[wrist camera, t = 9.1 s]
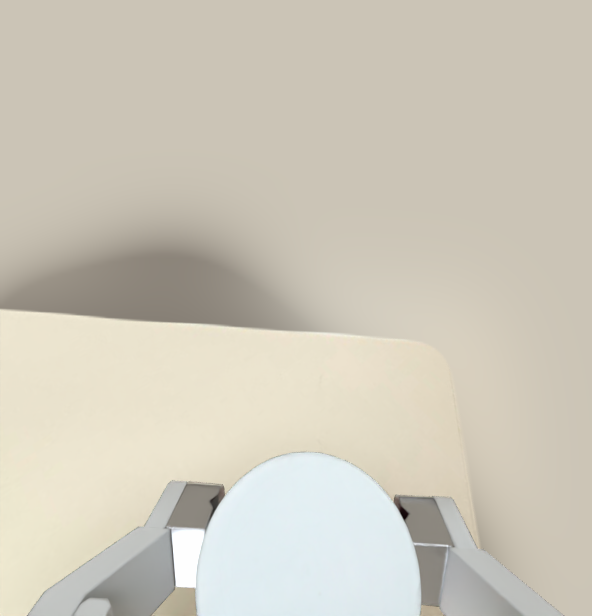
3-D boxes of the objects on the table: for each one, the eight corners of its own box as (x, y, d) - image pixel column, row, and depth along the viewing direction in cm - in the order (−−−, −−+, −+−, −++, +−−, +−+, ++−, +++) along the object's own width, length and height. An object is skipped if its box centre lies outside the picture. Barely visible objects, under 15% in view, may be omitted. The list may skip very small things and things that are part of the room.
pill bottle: (387, 609, 12) (500, 732, 5) (251, 641, 12) (172, 823, 5) (351, 463, 15) (394, 411, 8) (237, 487, 14) (169, 456, 7)
